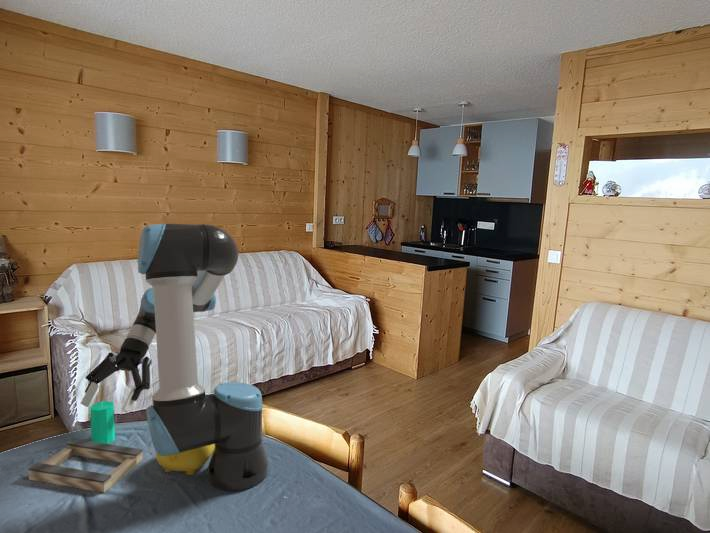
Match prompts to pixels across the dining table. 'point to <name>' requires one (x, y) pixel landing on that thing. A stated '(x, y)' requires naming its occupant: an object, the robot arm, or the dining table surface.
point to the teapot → (186, 460)
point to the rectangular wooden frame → (83, 478)
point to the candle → (102, 422)
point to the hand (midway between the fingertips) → (104, 408)
